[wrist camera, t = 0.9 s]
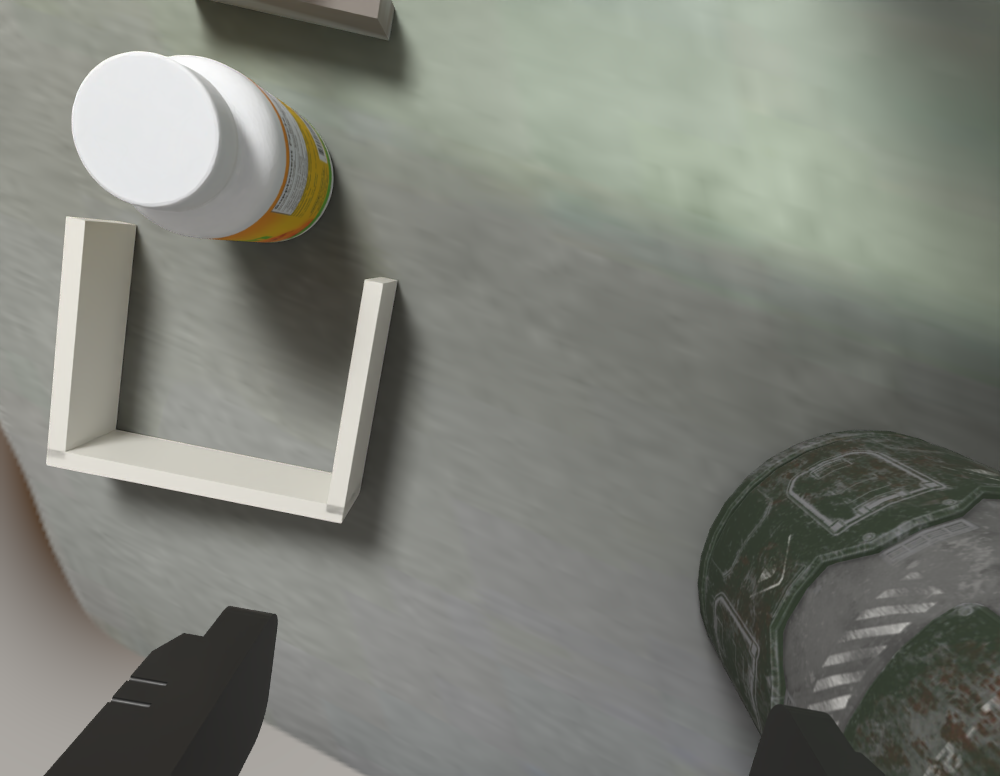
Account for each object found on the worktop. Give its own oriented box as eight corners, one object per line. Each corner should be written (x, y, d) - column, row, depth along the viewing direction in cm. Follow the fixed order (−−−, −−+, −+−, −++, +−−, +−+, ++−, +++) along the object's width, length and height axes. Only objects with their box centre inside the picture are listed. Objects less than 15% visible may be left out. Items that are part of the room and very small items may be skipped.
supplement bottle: (192, 221, 32) (28, 203, 21) (218, 88, 31) (58, -7, 20) (319, 258, 32) (223, 259, 21) (350, 127, 31) (265, 56, 20)
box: (119, 221, 32) (66, 216, 28) (397, 280, 32) (383, 283, 29) (98, 441, 34) (46, 464, 30) (359, 493, 35) (341, 523, 31)
